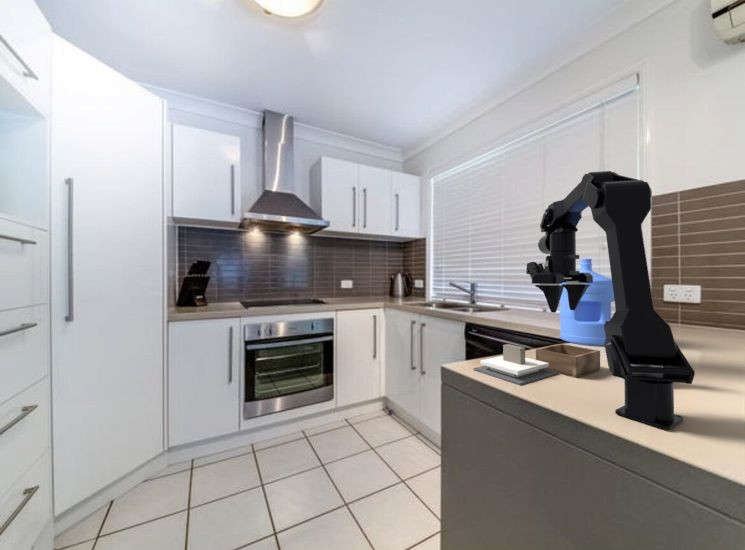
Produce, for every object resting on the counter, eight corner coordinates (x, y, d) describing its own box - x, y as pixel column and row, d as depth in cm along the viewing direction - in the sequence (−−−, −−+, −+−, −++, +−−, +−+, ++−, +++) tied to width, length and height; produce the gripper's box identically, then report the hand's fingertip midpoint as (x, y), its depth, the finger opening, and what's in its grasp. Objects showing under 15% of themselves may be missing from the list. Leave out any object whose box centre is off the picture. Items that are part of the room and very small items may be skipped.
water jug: (549, 337, 110) (548, 260, 110) (586, 336, 113) (585, 260, 113) (587, 347, 94) (586, 257, 95) (629, 345, 97) (628, 257, 97)
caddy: (576, 377, 66) (575, 357, 66) (535, 367, 74) (535, 348, 74) (600, 369, 72) (600, 350, 72) (560, 360, 80) (560, 343, 80)
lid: (517, 380, 64) (517, 354, 64) (480, 368, 72) (480, 345, 72) (548, 371, 70) (548, 347, 70) (511, 361, 78) (510, 339, 78)
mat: (520, 385, 62) (520, 383, 62) (473, 369, 72) (473, 368, 72) (558, 373, 69) (558, 372, 69) (510, 361, 79) (510, 359, 79)
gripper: (551, 254, 91) (551, 306, 91) (512, 252, 82) (512, 310, 82) (593, 252, 82) (594, 310, 82) (554, 249, 72) (555, 314, 72)
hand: (563, 311), depth 80 cm, fingers open, 9 cm apart
